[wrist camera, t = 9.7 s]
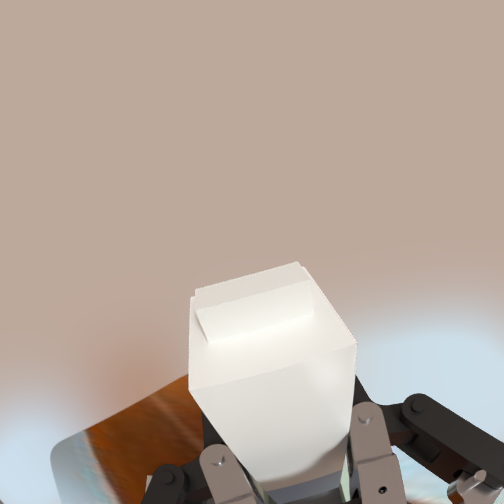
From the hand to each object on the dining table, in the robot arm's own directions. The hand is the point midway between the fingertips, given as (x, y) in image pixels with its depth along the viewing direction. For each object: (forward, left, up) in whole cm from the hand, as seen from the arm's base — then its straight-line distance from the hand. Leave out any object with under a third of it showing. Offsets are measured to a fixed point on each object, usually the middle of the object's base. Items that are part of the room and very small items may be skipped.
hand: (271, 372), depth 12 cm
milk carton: (0, -3, -7) cm, 8 cm away
